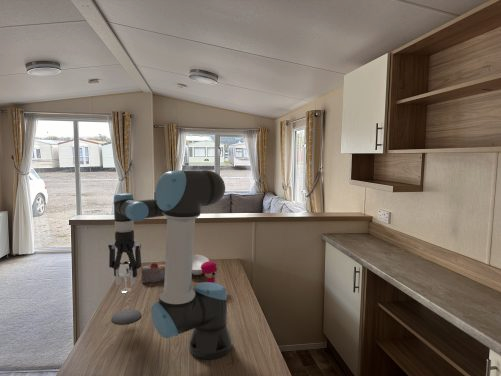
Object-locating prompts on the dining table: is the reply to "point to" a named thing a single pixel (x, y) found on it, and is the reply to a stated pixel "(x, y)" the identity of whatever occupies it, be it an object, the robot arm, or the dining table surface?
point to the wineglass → (125, 273)
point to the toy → (209, 270)
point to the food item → (153, 273)
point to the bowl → (198, 264)
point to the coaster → (126, 316)
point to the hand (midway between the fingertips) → (125, 283)
